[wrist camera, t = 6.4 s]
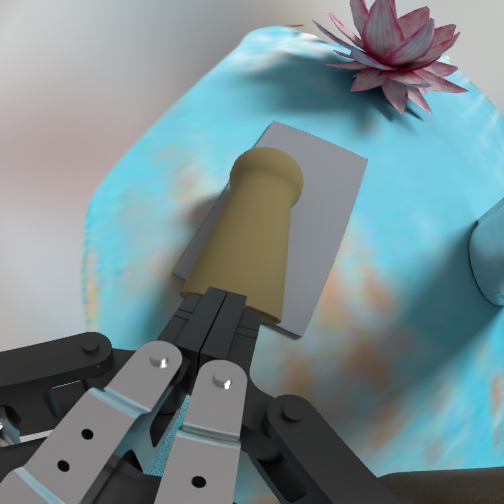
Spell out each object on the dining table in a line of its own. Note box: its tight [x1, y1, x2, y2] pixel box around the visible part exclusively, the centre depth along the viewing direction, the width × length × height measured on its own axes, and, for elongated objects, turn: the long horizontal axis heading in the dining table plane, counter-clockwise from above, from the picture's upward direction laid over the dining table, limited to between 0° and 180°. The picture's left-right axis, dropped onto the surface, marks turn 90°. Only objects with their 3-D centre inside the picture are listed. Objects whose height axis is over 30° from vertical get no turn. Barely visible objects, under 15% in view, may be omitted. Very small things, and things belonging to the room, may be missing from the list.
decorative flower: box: [313, 0, 468, 114], centre depth 23 cm, size 21×21×15 cm
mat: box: [173, 121, 368, 337], centre depth 21 cm, size 18×10×1 cm, turn 154°
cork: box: [180, 147, 304, 324], centre depth 17 cm, size 6×6×11 cm
